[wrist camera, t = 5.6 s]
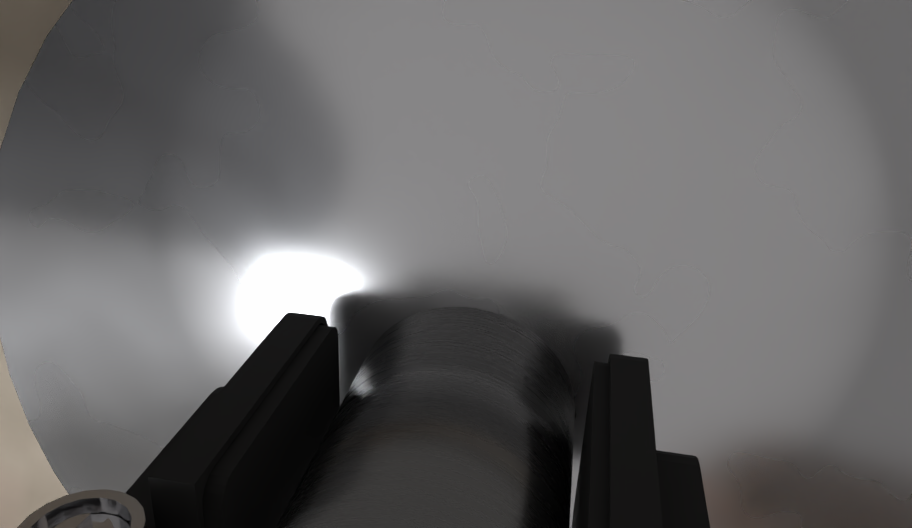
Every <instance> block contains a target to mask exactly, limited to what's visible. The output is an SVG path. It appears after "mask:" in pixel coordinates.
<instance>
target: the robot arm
mask: <svg viewBox="0 0 912 528" xmlns="http://www.w3.org/2000/svg"><path fill="white" fill-rule="evenodd" d="M339 407H340V391H339V343H338V331H337V328H336V327H331V326H328V324H327V320H326V318H325V317H324V316H318V315H310V314H303V313H295V312H287V313H286V314H285V315H284V316H283V317H282V319H281V320H280V321H279V322H278V323H277V324H276V326H275V327H274V328H273V329H272V330H271V332H270V333H269V334H268V335H267V336H266V338H265V339H264V340H263V341H262V342H261V343H260V345H259V346H258V347H257V348H256V349H255V351H254V352H253V353H252V354H251V355H250V357H249V358H248V359H247V360H246V361H245V362H244V364H243V365H242V366H241V367H240V368H239V370H238V371H237V372H236V373H235V374H234V376H233V377H232V378H231V379H230V380H229V381H228V383H227V384H226V385H225V386H223V387H218V388H216V389H215V390H214V391H213V392H212V393H211V394H210V395H209V396H208V397H207V398H206V400H205V401H204V402H203V403H202V404H201V405H200V407H199V408H198V409H197V410H196V411H195V412H194V414H193V415H192V416H191V417H190V418H189V419H188V421H187V422H186V423H185V424H184V425H183V426H182V428H181V429H180V430H179V431H178V432H177V433H176V435H175V436H174V437H173V438H172V439H171V440H170V442H169V443H168V444H167V445H166V446H165V447H164V449H163V450H162V451H161V452H160V453H159V454H158V455H157V457H156V458H155V459H154V460H153V461H152V462H151V464H150V465H149V466H148V467H147V468H146V469H145V471H144V472H143V473H142V474H141V475H140V476H139V478H138V479H137V480H136V481H135V482H134V483H133V485H132V486H131V487H130V488H129V489H128V490H127V492H126V493H124V492H120V491H114V490H107V489H100V490H85V491H81V492H77V493H73V494H69V495H65V496H63V497H61V498H59V499H56V500H54V501H52V502H49V503H47V504H45V505H44V506H42V507H41V508H39V509H38V510H36V511H35V512H33V513H32V514H30V515H29V516H28V517H27V518H26V519H25V520H24V521H23V522H22V523H21V524H20V525H19V526H18V527H17V528H276V526H277V524H278V522H279V520H280V518H281V516H282V514H283V512H284V511H285V509H286V507H287V505H288V503H289V501H290V499H291V497H292V496H293V494H294V492H295V490H296V488H297V486H298V484H299V482H300V481H301V479H302V477H303V475H304V473H305V471H306V469H307V467H308V465H309V464H310V462H311V460H312V458H313V456H314V454H315V452H316V450H317V449H318V447H319V445H320V443H321V441H322V439H323V437H324V435H325V433H326V432H327V430H328V428H329V426H330V424H331V422H332V420H333V418H334V417H335V415H336V413H337V411H338V409H339ZM572 528H710V523H709V517H708V511H707V505H706V499H705V493H704V487H703V481H702V475H701V469H700V464H699V460H698V458H697V457H696V456H693V455H686V454H679V453H672V452H666V451H659V450H656V442H655V430H654V418H653V407H652V395H651V384H650V372H649V361H648V359H647V358H641V357H633V356H625V355H618V354H610V355H609V359H608V363H603V362H596V361H594V365H593V371H592V378H591V385H590V393H589V400H588V407H587V415H586V422H585V429H584V437H583V444H582V451H581V458H580V466H579V473H578V480H577V488H576V495H575V502H574V510H573V519H572Z"/></svg>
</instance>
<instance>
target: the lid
mask: <svg viewBox="0 0 912 528" xmlns="http://www.w3.org/2000/svg"><path fill="white" fill-rule="evenodd" d="M287 312H295V313H303V314H310V315H318V316H324V317H325V318H326V320H327V324H328V326H331V327H336V328H337V331H338V343H339V391H340V407H339V409H338V411H337V413H336V415H335V417H334V418H333V420H332V422H331V424H330V426H329V428H328V430H327V432H326V433H325V435H324V437H323V439H322V441H321V443H320V445H319V447H318V449H317V450H316V452H315V454H314V456H313V458H312V460H311V462H310V464H309V465H308V467H307V469H306V471H305V473H304V475H303V477H302V479H301V481H300V482H299V484H298V486H297V488H296V490H295V492H294V494H293V496H292V497H291V499H290V501H289V503H288V505H287V507H286V509H285V511H284V512H283V514H282V516H281V518H280V520H279V522H278V524H277V526H276V528H572V519H573V510H574V502H575V495H576V488H577V480H578V473H579V466H580V458H581V451H582V444H583V437H584V429H585V422H586V415H587V407H588V400H589V393H590V385H591V378H592V371H593V365H594V361H596V362H603V363H608V359H609V355H610V354H618V355H625V356H633V357H641V358H647V359H648V361H649V372H650V384H651V395H652V407H653V418H654V430H655V442H656V450H659V451H666V452H672V453H679V454H686V455H693V456H696V457H697V458H698V460H699V464H700V469H701V475H702V481H703V487H704V493H705V499H706V505H707V511H708V517H709V523H710V528H912V0H73V1H72V2H71V3H70V5H69V6H68V8H67V9H66V10H65V12H64V13H63V15H62V16H61V17H60V19H59V20H58V21H57V23H56V24H55V26H54V27H53V28H52V30H51V31H50V32H49V34H48V35H47V37H46V39H45V41H44V43H43V45H42V47H41V49H40V51H39V53H38V55H37V57H36V59H35V61H34V63H33V65H32V67H31V69H30V71H29V73H28V75H27V77H26V79H25V81H24V83H23V85H22V87H21V89H20V91H19V93H18V96H17V99H16V102H15V105H14V108H13V112H12V115H11V118H10V121H9V124H8V127H7V130H6V133H5V137H4V140H3V143H2V146H1V149H0V338H1V342H2V346H3V350H4V354H5V358H6V362H7V366H8V370H9V373H10V376H11V379H12V382H13V384H14V387H15V389H16V392H17V395H18V397H19V400H20V402H21V405H22V407H23V410H24V413H25V415H26V418H27V420H28V423H29V425H30V427H31V429H32V431H33V433H34V435H35V437H36V439H37V441H38V443H39V444H40V446H41V448H42V450H43V452H44V454H45V456H46V458H47V460H48V462H49V463H50V465H51V467H52V469H53V471H54V473H55V474H56V476H57V477H58V479H59V480H60V482H61V483H62V485H63V486H64V488H65V489H66V491H67V492H68V494H73V493H77V492H81V491H85V490H100V489H107V490H114V491H120V492H124V493H126V492H127V490H128V489H129V488H130V487H131V486H132V485H133V483H134V482H135V481H136V480H137V479H138V478H139V476H140V475H141V474H142V473H143V472H144V471H145V469H146V468H147V467H148V466H149V465H150V464H151V462H152V461H153V460H154V459H155V458H156V457H157V455H158V454H159V453H160V452H161V451H162V450H163V449H164V447H165V446H166V445H167V444H168V443H169V442H170V440H171V439H172V438H173V437H174V436H175V435H176V433H177V432H178V431H179V430H180V429H181V428H182V426H183V425H184V424H185V423H186V422H187V421H188V419H189V418H190V417H191V416H192V415H193V414H194V412H195V411H196V410H197V409H198V408H199V407H200V405H201V404H202V403H203V402H204V401H205V400H206V398H207V397H208V396H209V395H210V394H211V393H212V392H213V391H214V390H215V389H216V388H218V387H223V386H225V385H226V384H227V383H228V381H229V380H230V379H231V378H232V377H233V376H234V374H235V373H236V372H237V371H238V370H239V368H240V367H241V366H242V365H243V364H244V362H245V361H246V360H247V359H248V358H249V357H250V355H251V354H252V353H253V352H254V351H255V349H256V348H257V347H258V346H259V345H260V343H261V342H262V341H263V340H264V339H265V338H266V336H267V335H268V334H269V333H270V332H271V330H272V329H273V328H274V327H275V326H276V324H277V323H278V322H279V321H280V320H281V319H282V317H283V316H284V315H285V314H286V313H287Z"/></svg>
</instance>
